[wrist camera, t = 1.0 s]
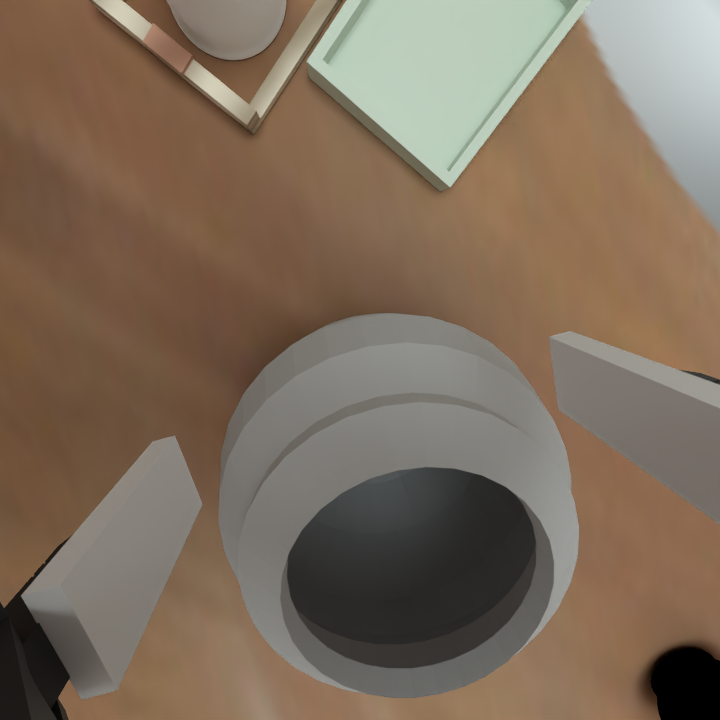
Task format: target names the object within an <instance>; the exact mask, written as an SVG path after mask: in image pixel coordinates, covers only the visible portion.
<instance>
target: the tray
mask: <svg viewBox="0 0 720 720" xmlns="http://www.w3.org/2000/svg"><path fill="white" fill-rule="evenodd" d="M591 1H592V0H347V1H346V2H345V4H344V5H343V7H342V8H341V10H340V11H339V13H338V14H337V16H336V18H335V19H334V21H333V22H332V24H331V25H330V27H329V28H328V30H327V31H326V33H325V34H324V36H323V37H322V39H321V40H320V42H319V43H318V45H317V46H316V48H315V49H314V51H313V53H312V54H311V56H310V57H309V59H308V60H307V70H308V77H309V78H310V79H311V80H312V81H313V82H314V83H316V84H317V85H318V86H319V87H320V88H321V89H323V90H324V91H325V92H326V93H327V94H328V95H329V96H331V97H332V98H333V99H334V100H335V101H336V102H338V103H339V104H340V105H341V106H342V107H343V108H344V109H346V110H347V111H348V112H349V113H350V114H351V115H352V116H354V117H355V118H356V119H357V120H358V121H359V122H361V123H362V124H363V125H364V126H365V127H366V128H367V129H369V130H370V131H371V132H372V133H373V134H374V135H375V136H377V137H378V138H379V139H380V140H381V141H382V142H384V143H385V144H386V145H387V146H388V147H389V148H390V149H392V150H393V151H394V152H395V153H396V154H397V155H399V156H400V157H401V158H402V159H403V160H404V161H405V162H407V163H408V164H409V165H410V166H411V167H412V168H413V169H415V170H416V171H417V172H418V173H419V174H420V175H422V176H423V177H424V178H425V179H426V180H427V181H428V182H430V183H431V184H432V185H433V186H434V187H435V188H436V189H438V190H439V191H440V192H441V191H444V190H446V189H448V188H450V187H451V186H452V184H453V183H454V182H455V181H456V179H457V178H458V177H459V175H460V174H461V173H462V171H463V170H464V169H465V167H466V166H467V165H468V163H469V162H470V161H471V159H472V158H473V157H474V155H475V154H476V153H477V151H478V150H479V149H480V148H481V146H482V145H483V144H484V142H485V141H486V140H487V138H488V137H489V136H490V134H491V133H492V132H493V130H494V129H495V128H496V126H497V125H498V124H499V122H500V121H501V120H502V119H503V117H504V116H505V115H506V113H507V112H508V111H509V109H510V108H511V107H512V105H513V104H514V103H515V101H516V100H517V99H518V97H519V96H520V95H521V93H522V92H523V91H524V89H525V88H526V87H527V86H528V84H529V83H530V82H531V80H532V79H533V78H534V76H535V75H536V74H537V72H538V71H539V70H540V68H541V67H542V66H543V64H544V63H545V62H546V60H547V59H548V58H549V56H550V55H551V54H552V53H553V51H554V50H555V49H556V47H557V46H558V45H559V43H560V42H561V41H562V39H563V38H564V37H565V35H566V34H567V33H568V31H569V30H570V29H571V27H572V26H573V25H574V23H575V22H576V21H577V20H578V18H579V17H580V16H581V14H582V13H583V12H584V10H585V9H586V8H587V6H588V5H589V4H590V2H591Z"/></svg>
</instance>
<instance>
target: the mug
mask: <svg viewBox="0 0 720 720" xmlns="http://www.w3.org/2000/svg"><path fill="white" fill-rule="evenodd" d="M166 1H167V3H168V4H169V6H170V8H171V11H172V13H173V16H174V18H175V20H176V22H177V24H178V25H179V27H180V28H181V30H182V31H183V33H184V34H185V35H186V37H187V38H188V39H189V40H190V41H191V42H192V43H193V44H194V45H196V46H197V47H198V48H199V49H201V50H202V51H204V52H206V53H207V54H209V55H211V56H214V57H217V58H220V59H225V60H243V59H247V58H250V57H253V56H255V55H257V54H259V53H260V52H262V51H263V50H264V49H266V48H267V47H268V46H269V45H270V44H271V43H272V41H273V40H274V39H275V37H276V36H277V34H278V32H279V30H280V28H281V26H282V23H283V20H284V16H285V11H286V0H166Z"/></svg>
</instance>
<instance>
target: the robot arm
mask: <svg viewBox="0 0 720 720" xmlns="http://www.w3.org/2000/svg"><path fill="white" fill-rule="evenodd" d="M549 342H550V350H551V358H552V365H553V373H554V381H555V389H556V397H557V404H558V410H560V411H561V412H563V413H564V414H565V415H567V416H568V417H570V418H571V419H572V420H574V421H575V422H577V423H578V424H579V425H581V426H582V427H584V428H585V429H586V430H588V431H589V432H591V433H592V434H593V435H595V436H596V437H598V438H599V439H600V440H602V441H603V442H605V443H606V444H607V445H609V446H610V447H612V448H613V449H615V450H616V451H617V452H619V453H620V454H622V455H623V456H624V457H626V458H627V459H629V460H630V461H631V462H633V463H634V464H636V465H637V466H638V467H640V468H641V469H643V470H644V471H645V472H647V473H648V474H650V475H651V476H652V477H654V478H655V479H657V480H658V481H659V482H661V483H662V484H664V485H665V486H667V487H668V488H669V489H671V490H672V491H674V492H675V493H676V494H678V495H679V496H681V497H682V498H683V499H685V500H686V501H688V502H689V503H690V504H692V505H693V506H695V507H696V508H697V509H699V510H700V511H702V512H703V513H704V514H706V515H707V516H709V517H710V518H711V519H713V520H714V521H716V522H717V523H718V524H720V380H719V379H716V378H713V377H710V376H707V375H704V374H701V373H696V372H689V371H683V370H677V369H674V368H672V367H669V366H666V365H663V364H661V363H658V362H655V361H652V360H649V359H647V358H644V357H641V356H638V355H636V354H633V353H630V352H627V351H624V350H622V349H619V348H616V347H613V346H611V345H608V344H605V343H602V342H599V341H597V340H594V339H591V338H588V337H585V336H583V335H580V334H577V333H574V332H572V331H569V332H565V333H561V334H557V335H553V336H550V337H549ZM201 507H202V501H201V499H200V496H199V494H198V491H197V489H196V486H195V484H194V481H193V479H192V477H191V474H190V472H189V469H188V467H187V464H186V462H185V459H184V457H183V454H182V452H181V449H180V447H179V444H178V442H177V440H176V437H175V436H171V437H167V438H163V439H159V440H156V441H153V442H152V443H151V444H150V445H149V446H148V447H147V449H146V450H145V451H144V452H143V453H142V454H141V456H140V457H139V458H138V459H137V460H136V461H135V463H134V464H133V465H132V466H131V467H130V468H129V470H128V471H127V472H126V473H125V474H124V475H123V477H122V478H121V479H120V480H119V481H118V483H117V484H116V485H115V486H114V487H113V488H112V490H111V491H110V492H109V493H108V494H107V495H106V497H105V498H104V499H103V500H102V501H101V502H100V504H99V505H98V506H97V507H96V508H95V509H94V511H93V512H92V513H91V514H90V515H89V516H88V518H87V519H86V520H85V521H84V522H83V524H82V525H81V526H80V527H79V528H78V529H77V531H76V532H75V533H74V534H73V535H72V536H70V537H69V538H68V539H67V540H65V541H64V542H63V543H62V544H60V545H59V546H58V547H57V548H56V549H55V551H54V552H53V553H52V554H51V555H50V556H49V557H48V559H47V560H46V561H45V562H46V563H45V564H42V565H41V567H40V568H39V569H38V570H37V571H36V572H35V574H34V577H31V578H30V579H29V580H28V582H27V583H26V584H25V585H24V586H23V587H22V588H21V590H20V591H19V592H18V593H17V594H16V595H15V597H14V598H13V599H12V600H11V601H10V602H9V603H8V605H7V606H6V607H5V608H3V606H2V604H1V603H0V720H68V717H67V714H66V711H65V709H64V707H63V706H62V704H61V702H60V701H59V699H58V697H59V695H60V693H61V692H62V690H63V688H64V686H65V685H66V683H67V681H68V680H69V679H70V681H71V683H72V684H73V686H74V688H75V690H76V691H77V693H78V695H79V696H80V698H81V700H82V699H86V698H90V697H93V696H97V695H101V694H104V693H108V692H112V691H115V690H118V688H119V685H120V683H121V681H122V679H123V677H124V674H125V672H126V670H127V668H128V666H129V664H130V661H131V659H132V657H133V655H134V653H135V650H136V648H137V646H138V644H139V642H140V640H141V637H142V635H143V633H144V631H145V629H146V626H147V624H148V622H149V620H150V618H151V616H152V613H153V611H154V609H155V607H156V605H157V603H158V600H159V598H160V596H161V594H162V592H163V589H164V587H165V585H166V583H167V581H168V579H169V576H170V574H171V572H172V570H173V568H174V565H175V563H176V561H177V559H178V557H179V555H180V552H181V550H182V548H183V546H184V544H185V541H186V539H187V537H188V535H189V533H190V531H191V528H192V526H193V524H194V522H195V520H196V518H197V515H198V513H199V511H200V509H201Z"/></svg>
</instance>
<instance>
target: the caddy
mask: <svg viewBox="0 0 720 720" xmlns="http://www.w3.org/2000/svg"><path fill="white" fill-rule="evenodd" d="M89 1H90V2H91V3H92V4H93V5H94V6H95V7H96V8H97V9H98V10H99V11H100V12H102V13H103V14H104V15H105V16H107V17H108V18H109V19H110V20H112V21H113V22H114V23H115V24H117V25H118V26H119V27H120V28H121V29H123V30H124V31H125V32H126V33H128V34H129V35H130V36H131V37H133V38H134V39H135V40H136V41H138V42H139V43H140V44H141V45H143V46H144V47H145V48H146V49H147V50H149V51H150V52H151V53H152V54H154V55H155V56H156V57H157V58H159V59H160V60H161V61H162V62H164V63H165V64H166V65H167V66H169V67H170V68H171V69H172V70H173V71H175V72H176V73H177V74H178V75H180V76H181V77H182V78H183V79H185V80H186V81H187V82H188V83H190V84H191V85H192V86H193V87H195V88H196V89H197V90H198V91H200V92H201V93H202V94H203V95H204V96H206V97H207V98H208V99H209V100H211V101H212V102H213V103H214V104H216V105H217V106H218V107H219V108H221V109H222V110H223V111H224V112H226V113H227V114H228V115H229V116H230V117H232V118H233V119H234V120H235V121H237V122H238V123H239V124H240V125H242V126H243V127H244V128H245V129H247V130H248V131H249V132H250V133H252V134H253V135H254V134H255V132H256V131H257V129H258V128H259V126H260V125H261V123H262V122H263V120H264V119H265V117H266V116H267V114H268V113H269V111H270V109H271V108H272V106H273V105H274V103H275V102H276V100H277V99H278V97H279V96H280V94H281V93H282V91H283V90H284V88H285V87H286V85H287V84H288V82H289V80H290V79H291V77H292V76H293V74H294V73H295V71H296V70H297V68H298V67H299V65H300V64H301V62H302V61H303V59H304V58H305V56H306V55H307V53H308V51H309V50H310V48H311V47H312V45H313V44H314V42H315V41H316V39H317V38H318V36H319V35H320V33H321V32H322V30H323V29H324V27H325V26H326V24H327V22H328V21H329V19H330V18H331V16H332V15H333V13H334V12H335V10H336V9H337V7H338V6H339V4H340V3H341V1H342V0H316V1H315V3H314V5H313V6H312V8H311V9H310V11H309V12H308V14H307V15H306V17H305V19H304V20H303V22H302V23H301V25H300V26H299V28H298V29H297V31H296V33H295V34H294V36H293V37H292V39H291V40H290V42H289V43H288V45H287V46H286V48H285V50H284V51H283V53H282V54H281V56H280V57H279V59H278V60H277V62H276V64H275V65H274V67H273V68H272V70H271V71H270V73H269V74H268V76H267V78H266V79H265V81H264V82H263V84H262V85H261V87H260V88H259V90H258V91H257V93H256V95H255V96H254V98H253V99H252V101H251V102H250V104H247V103H246V102H245V101H244V100H243V99H241V98H240V97H239V96H238V95H236V94H235V93H234V92H233V91H232V90H230V89H229V88H228V87H227V86H226V85H224V84H223V83H222V82H221V81H219V80H218V79H217V78H216V77H215V76H213V75H212V74H211V73H210V72H209V71H207V70H206V69H205V68H204V67H202V66H201V65H200V64H199V63H198V62H196V61H195V60H194V57H193V56H192V55H191V54H190V53H189V52H188V51H187V50H185V49H184V48H183V47H182V46H180V45H179V44H178V43H177V42H176V41H174V40H173V39H172V38H171V37H170V36H168V35H167V34H166V33H165V32H163V31H162V30H161V29H160V28H159V27H157V26H156V25H155V24H154V23H153V24H152V25H151V24H150V23H149V22H148V21H147V20H145V19H144V18H143V17H142V16H140V15H139V14H138V13H137V12H136V11H134V10H133V9H132V8H131V7H130V6H128V5H127V4H126V3H125V2H124V1H125V0H89Z"/></svg>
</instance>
